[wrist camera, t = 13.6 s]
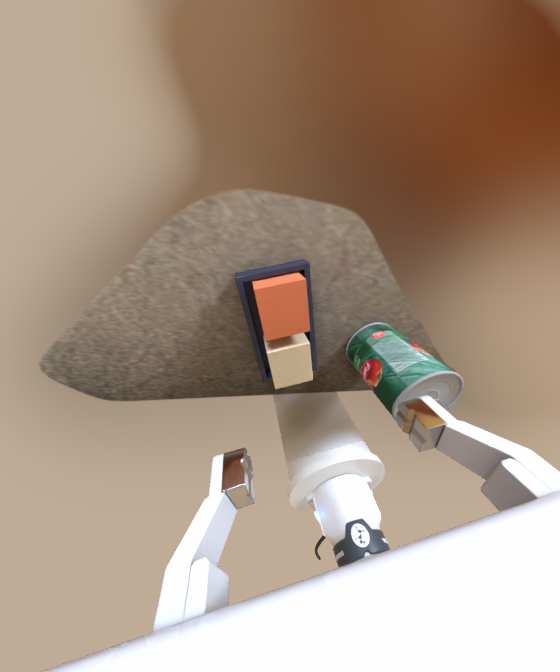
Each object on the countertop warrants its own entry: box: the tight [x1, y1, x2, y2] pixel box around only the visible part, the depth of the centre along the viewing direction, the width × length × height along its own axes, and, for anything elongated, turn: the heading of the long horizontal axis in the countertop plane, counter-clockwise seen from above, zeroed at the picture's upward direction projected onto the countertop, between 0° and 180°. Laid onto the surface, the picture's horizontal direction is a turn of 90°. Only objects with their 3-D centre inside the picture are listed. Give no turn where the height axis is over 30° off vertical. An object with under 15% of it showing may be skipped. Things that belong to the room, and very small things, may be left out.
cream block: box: [263, 333, 313, 389], centre depth 26 cm, size 6×5×4 cm
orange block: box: [252, 271, 310, 341], centre depth 22 cm, size 6×5×4 cm
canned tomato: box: [346, 322, 464, 422], centre depth 26 cm, size 8×8×11 cm
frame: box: [235, 260, 317, 382], centre depth 25 cm, size 15×8×2 cm, turn 9°
